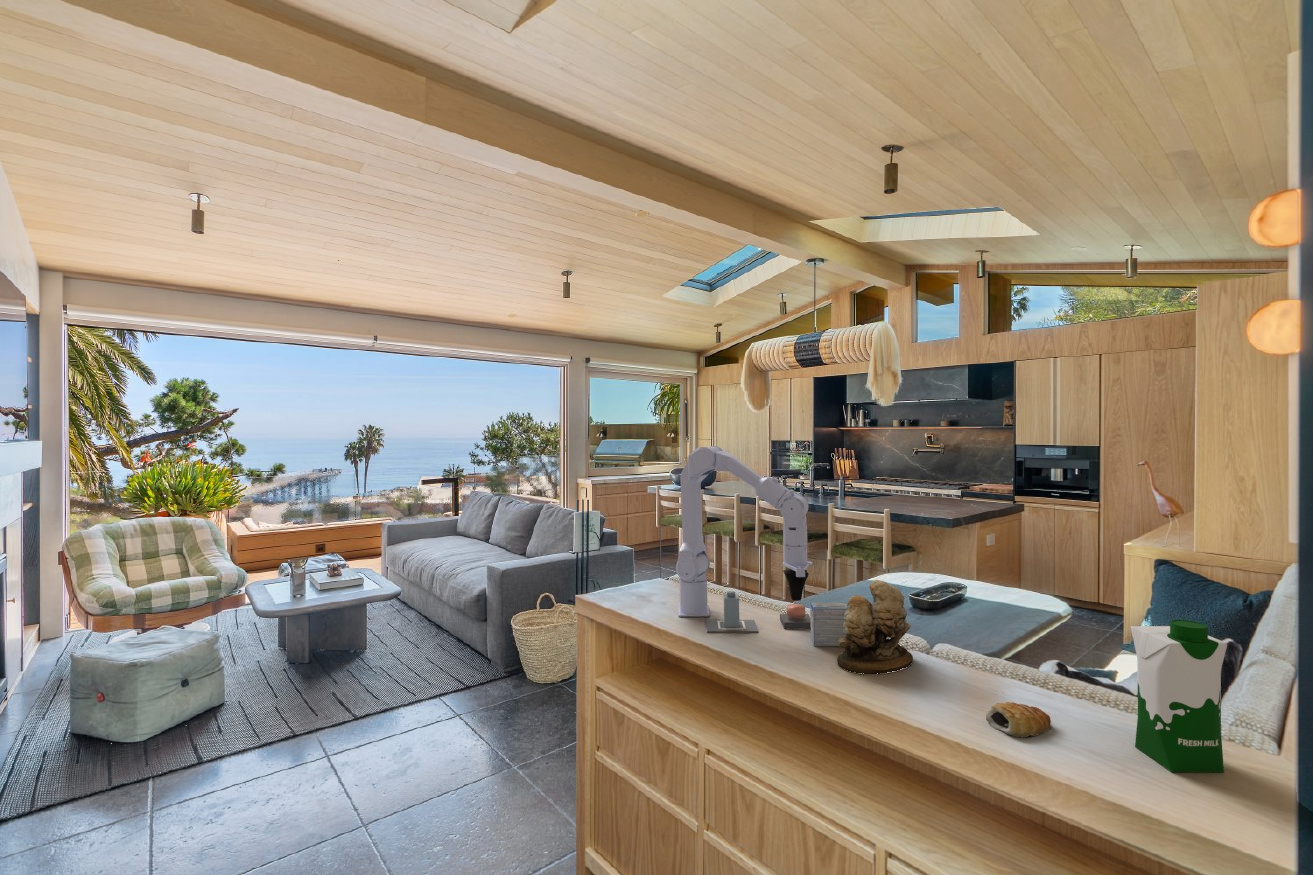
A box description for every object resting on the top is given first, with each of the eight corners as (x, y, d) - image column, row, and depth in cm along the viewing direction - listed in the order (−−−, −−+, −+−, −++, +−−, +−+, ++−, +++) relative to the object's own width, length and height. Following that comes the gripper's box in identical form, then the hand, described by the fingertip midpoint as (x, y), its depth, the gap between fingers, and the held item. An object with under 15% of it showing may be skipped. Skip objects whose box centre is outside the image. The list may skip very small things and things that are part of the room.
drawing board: (706, 621, 159) (706, 619, 159) (754, 621, 158) (754, 619, 158) (707, 632, 150) (707, 630, 150) (758, 632, 149) (758, 630, 149)
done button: (785, 612, 157) (785, 603, 157) (803, 612, 157) (803, 603, 157) (788, 617, 153) (788, 608, 153) (807, 617, 153) (806, 608, 153)
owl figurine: (883, 646, 139) (883, 568, 139) (930, 663, 129) (930, 579, 129) (822, 661, 130) (822, 578, 130) (868, 681, 120) (867, 591, 120)
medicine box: (846, 640, 143) (845, 602, 143) (850, 647, 138) (849, 607, 138) (810, 640, 143) (809, 601, 143) (813, 646, 139) (812, 607, 139)
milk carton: (1170, 776, 86) (1169, 629, 85) (1123, 743, 95) (1122, 610, 94) (1237, 776, 85) (1236, 629, 85) (1183, 743, 94) (1182, 610, 94)
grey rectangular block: (724, 622, 156) (723, 590, 156) (738, 622, 156) (737, 590, 155) (724, 627, 152) (724, 594, 152) (739, 627, 152) (738, 594, 152)
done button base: (779, 619, 159) (779, 613, 159) (808, 619, 158) (808, 613, 158) (784, 628, 152) (784, 622, 152) (813, 628, 151) (813, 622, 151)
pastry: (1027, 714, 105) (1027, 691, 105) (1064, 733, 99) (1064, 709, 99) (981, 722, 102) (981, 699, 102) (1016, 742, 96) (1016, 717, 96)
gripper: (817, 549, 147) (818, 608, 148) (806, 539, 162) (807, 592, 162) (787, 550, 148) (788, 608, 148) (778, 539, 162) (779, 592, 162)
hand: (796, 599), depth 155 cm, fingers closed
